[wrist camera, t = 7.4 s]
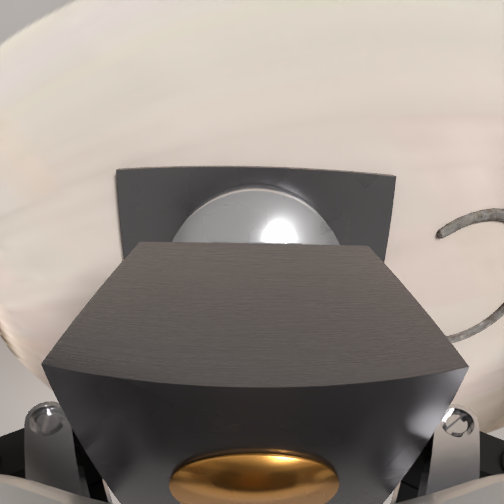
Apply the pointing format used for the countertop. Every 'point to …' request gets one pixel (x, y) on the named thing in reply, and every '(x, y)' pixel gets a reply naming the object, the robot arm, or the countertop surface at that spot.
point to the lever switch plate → (254, 206)
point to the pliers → (453, 227)
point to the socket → (253, 375)
